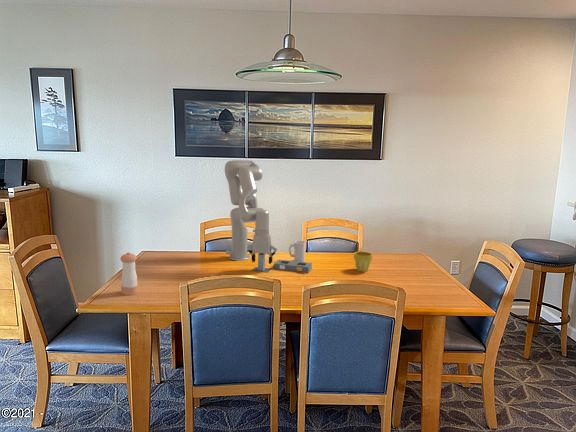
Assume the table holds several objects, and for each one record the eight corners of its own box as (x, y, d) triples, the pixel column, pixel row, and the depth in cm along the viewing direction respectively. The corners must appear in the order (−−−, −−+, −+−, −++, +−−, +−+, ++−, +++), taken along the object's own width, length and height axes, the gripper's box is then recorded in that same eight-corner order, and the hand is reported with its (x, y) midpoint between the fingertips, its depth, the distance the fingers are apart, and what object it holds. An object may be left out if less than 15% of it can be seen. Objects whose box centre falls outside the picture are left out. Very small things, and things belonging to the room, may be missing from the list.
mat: (250, 271, 232) (250, 270, 231) (255, 267, 239) (255, 266, 239) (267, 273, 229) (267, 272, 229) (272, 269, 237) (272, 268, 236)
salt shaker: (135, 295, 192) (134, 254, 188) (119, 295, 191) (117, 254, 188) (140, 289, 199) (138, 250, 196) (124, 289, 198) (122, 250, 195)
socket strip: (273, 269, 236) (273, 263, 235) (278, 265, 245) (278, 259, 244) (308, 273, 231) (308, 267, 230) (311, 268, 240) (311, 262, 239)
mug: (304, 260, 257) (305, 241, 255) (305, 263, 251) (305, 243, 249) (288, 259, 258) (289, 240, 256) (288, 262, 251) (288, 243, 249)
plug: (257, 270, 233) (258, 253, 231) (259, 268, 236) (259, 252, 234) (263, 270, 232) (263, 254, 230) (265, 269, 235) (265, 252, 233)
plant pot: (373, 269, 242) (374, 252, 240) (368, 273, 233) (369, 256, 231) (356, 266, 247) (357, 250, 245) (350, 270, 238) (351, 254, 236)
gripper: (244, 232, 229) (245, 262, 232) (275, 234, 224) (274, 265, 227) (249, 230, 236) (249, 259, 239) (279, 232, 232) (278, 262, 234)
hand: (262, 262), depth 233 cm, fingers open, 9 cm apart
